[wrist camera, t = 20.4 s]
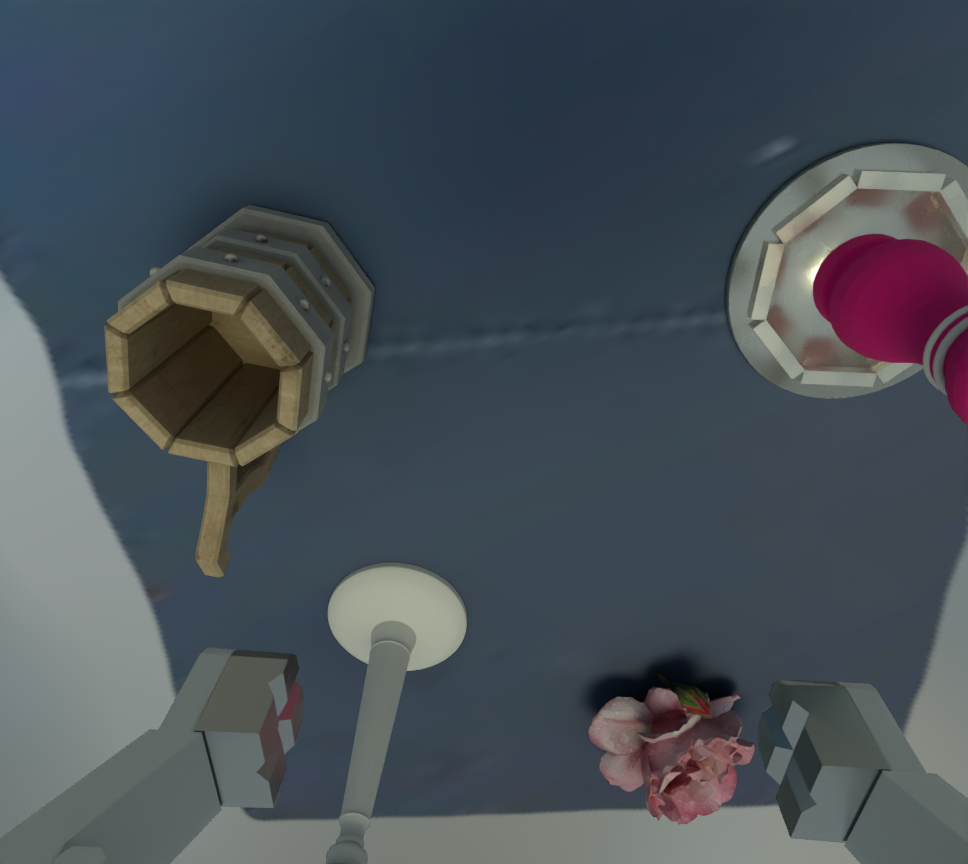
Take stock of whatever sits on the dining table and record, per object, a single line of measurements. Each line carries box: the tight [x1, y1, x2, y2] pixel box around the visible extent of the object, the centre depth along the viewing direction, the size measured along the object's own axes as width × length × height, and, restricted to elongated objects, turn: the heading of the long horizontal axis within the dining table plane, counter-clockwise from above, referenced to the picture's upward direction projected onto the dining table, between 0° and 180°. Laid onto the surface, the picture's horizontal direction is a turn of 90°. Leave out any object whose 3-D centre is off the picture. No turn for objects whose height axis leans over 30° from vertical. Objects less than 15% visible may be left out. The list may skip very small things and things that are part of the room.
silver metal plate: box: [725, 142, 968, 398], centre depth 44 cm, size 17×17×2 cm
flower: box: [588, 671, 755, 824], centre depth 61 cm, size 15×15×10 cm
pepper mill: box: [813, 234, 968, 425], centre depth 35 cm, size 7×7×20 cm
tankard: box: [104, 204, 375, 577], centre depth 42 cm, size 20×13×15 cm, turn 168°
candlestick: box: [326, 562, 467, 864], centre depth 48 cm, size 13×13×30 cm
